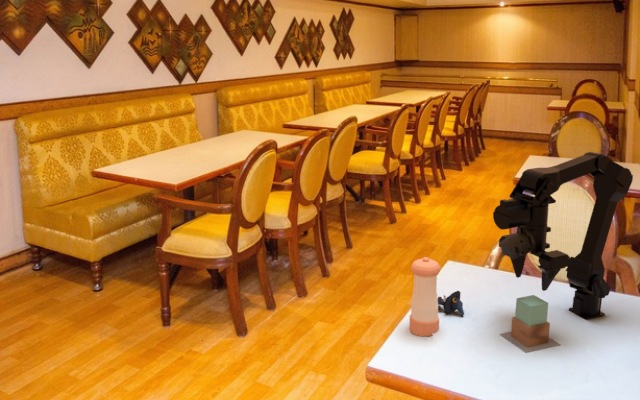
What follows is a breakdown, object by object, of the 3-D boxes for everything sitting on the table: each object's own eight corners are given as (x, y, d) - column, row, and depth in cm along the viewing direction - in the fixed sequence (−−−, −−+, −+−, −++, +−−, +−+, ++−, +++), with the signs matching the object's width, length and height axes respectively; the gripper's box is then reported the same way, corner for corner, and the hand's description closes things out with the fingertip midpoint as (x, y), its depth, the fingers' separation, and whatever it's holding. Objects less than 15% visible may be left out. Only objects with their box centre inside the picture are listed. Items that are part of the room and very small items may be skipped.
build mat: (532, 329, 151) (532, 326, 151) (560, 347, 142) (561, 344, 142) (498, 336, 148) (498, 334, 148) (525, 355, 139) (525, 352, 139)
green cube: (532, 314, 147) (533, 294, 145) (546, 322, 142) (548, 302, 141) (515, 317, 145) (516, 298, 144) (529, 326, 140) (530, 306, 139)
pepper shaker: (432, 339, 147) (434, 264, 142) (404, 332, 151) (405, 259, 146) (443, 327, 153) (445, 255, 148) (416, 320, 157) (417, 250, 152)
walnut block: (531, 331, 149) (532, 312, 147) (548, 342, 143) (549, 323, 142) (510, 336, 146) (512, 317, 145) (527, 347, 141) (528, 327, 140)
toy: (426, 286, 171) (469, 287, 159) (431, 311, 171) (474, 313, 160) (407, 294, 166) (449, 296, 154) (411, 319, 166) (455, 323, 154)
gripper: (482, 217, 150) (480, 276, 154) (534, 239, 133) (530, 304, 137) (518, 211, 154) (515, 268, 158) (574, 231, 137) (569, 295, 141)
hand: (530, 283), depth 148 cm, fingers open, 9 cm apart
